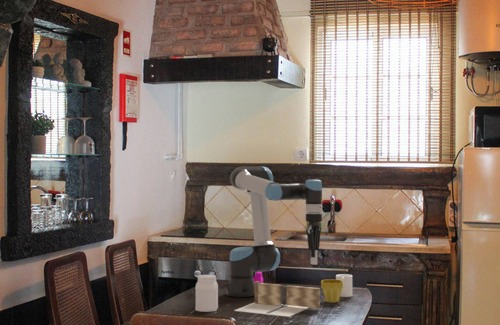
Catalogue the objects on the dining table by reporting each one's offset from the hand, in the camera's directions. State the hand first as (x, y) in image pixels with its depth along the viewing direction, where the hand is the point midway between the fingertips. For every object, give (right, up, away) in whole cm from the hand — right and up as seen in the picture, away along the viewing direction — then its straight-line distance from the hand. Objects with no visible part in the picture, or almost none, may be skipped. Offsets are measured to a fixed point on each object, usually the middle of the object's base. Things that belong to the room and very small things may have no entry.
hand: (314, 264), depth 327 cm
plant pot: (+10, -20, +13) cm, 25 cm away
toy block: (-31, -20, +57) cm, 67 cm away
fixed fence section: (-21, -20, +4) cm, 29 cm away
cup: (+17, -20, +26) cm, 37 cm away
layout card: (-20, -20, -6) cm, 28 cm away
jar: (-49, -20, -5) cm, 53 cm away
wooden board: (-6, -19, -4) cm, 20 cm away
